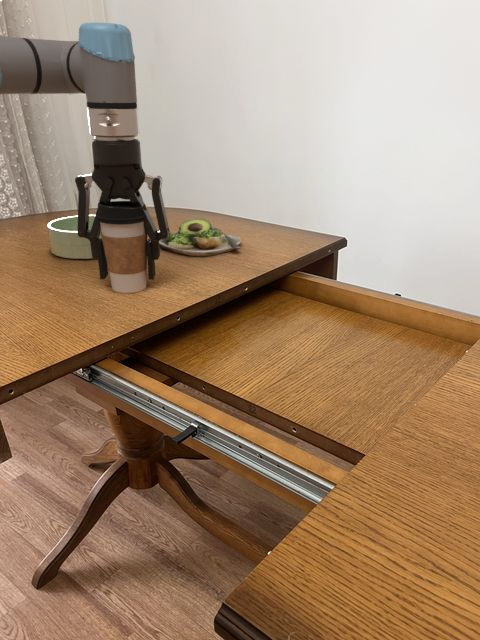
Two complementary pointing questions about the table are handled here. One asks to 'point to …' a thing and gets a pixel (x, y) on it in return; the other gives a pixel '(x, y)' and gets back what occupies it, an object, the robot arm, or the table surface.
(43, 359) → the table surface
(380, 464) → the table surface
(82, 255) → the bowl
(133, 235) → the coffee cup
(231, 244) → the salad plate
